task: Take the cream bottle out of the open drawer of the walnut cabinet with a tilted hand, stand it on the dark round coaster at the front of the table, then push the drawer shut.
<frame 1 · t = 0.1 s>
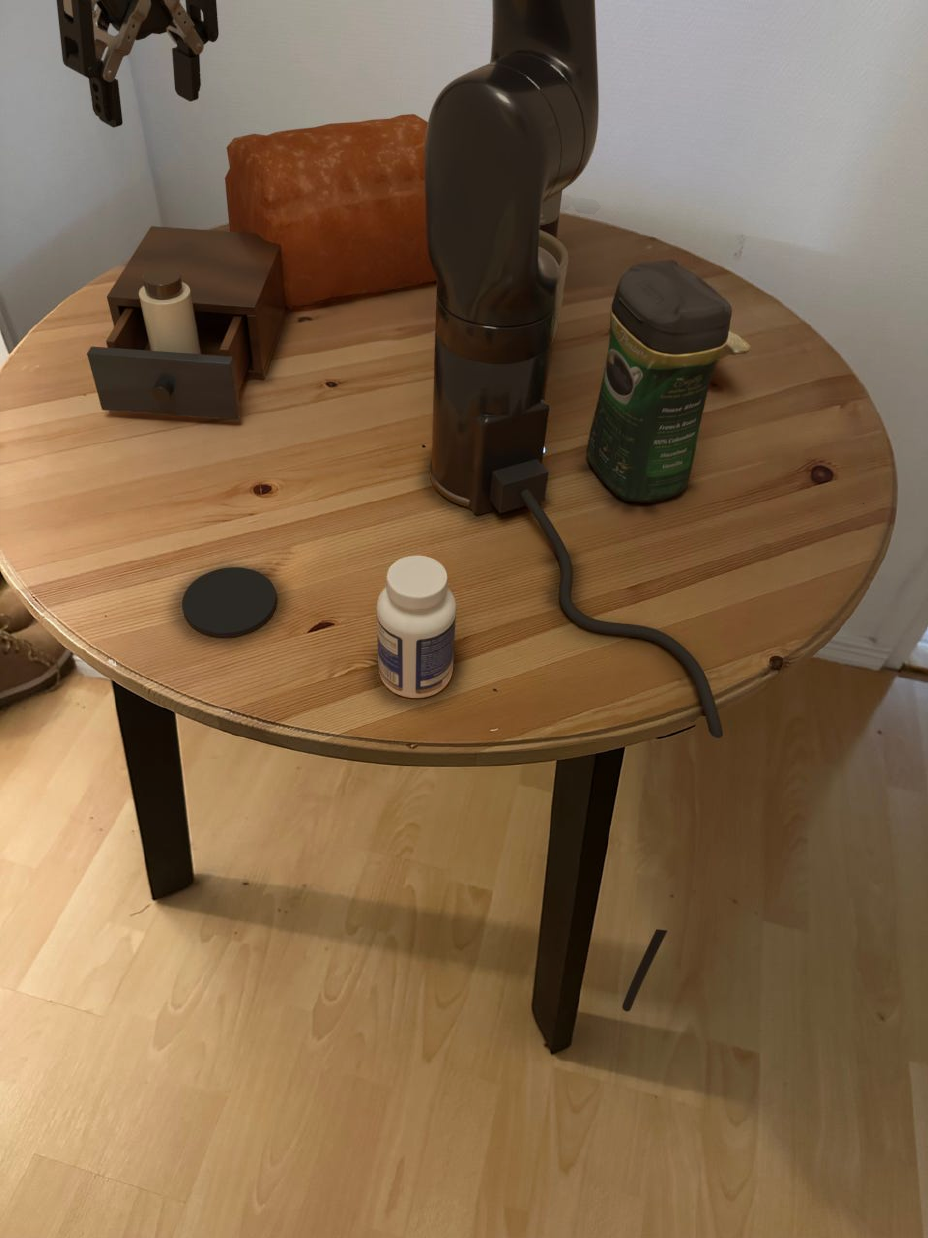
hand: (150, 109, 81), 22 cm above the table, tool pointing down, fingers open, 8 cm apart
cream bottle: (180, 376, 90), point 2 cm above the table, touching drawer
pill bottle: (415, 673, 69), on the table
cheese: (684, 367, 99), on the table
cabinet: (211, 335, 99), on the table
drawer: (182, 350, 89), point 4 cm above the table, slide at 7.0 cm, touching cream bottle
wine bottle: (519, 289, 109), on the table
coaster: (230, 604, 73), on the table
planter: (495, 353, 99), on the table
coffee jar: (634, 474, 86), on the table
bread: (349, 265, 111), on the table, touching cabinet
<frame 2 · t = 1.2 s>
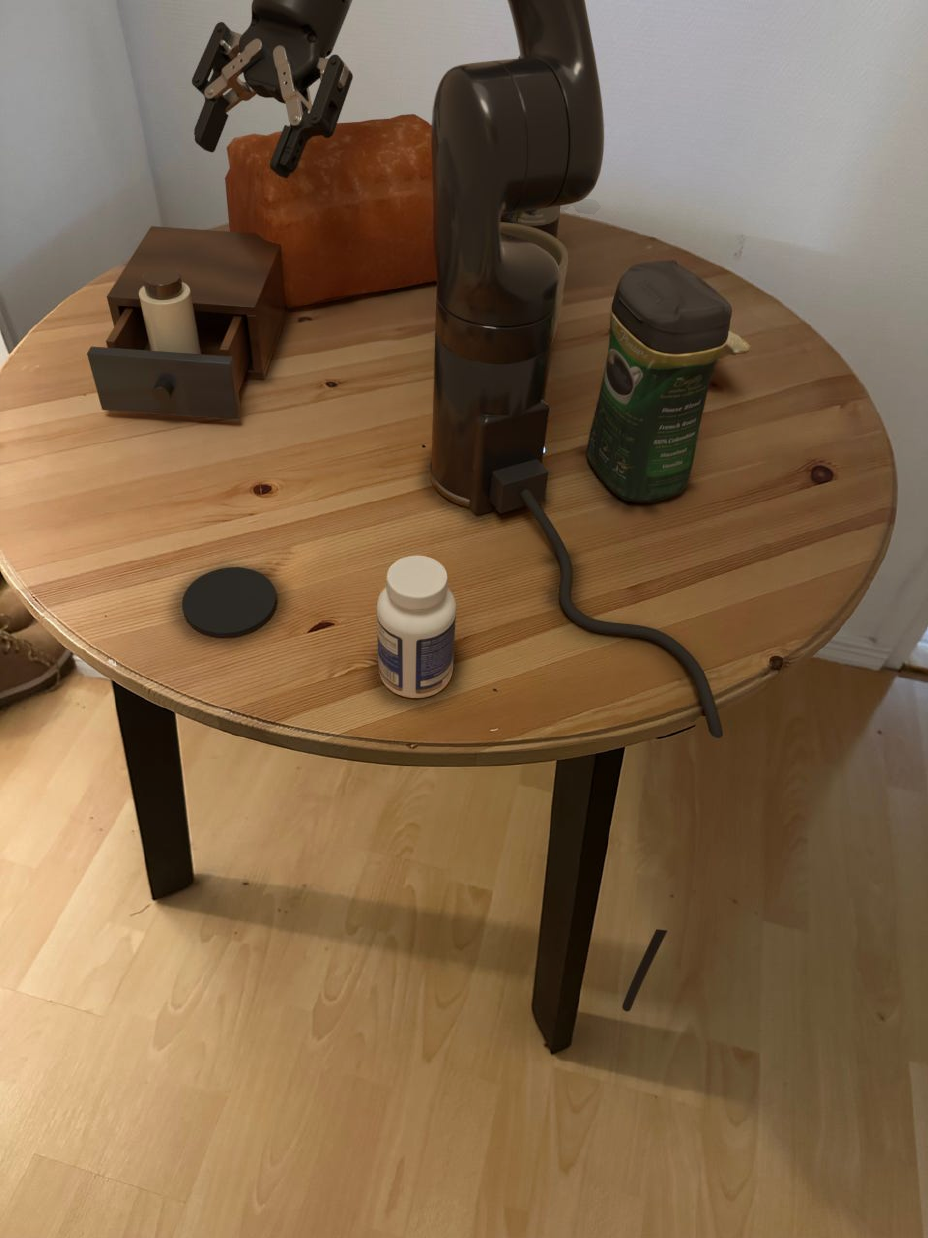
hand: (240, 160, 85), 18 cm above the table, tool tilted 45°, fingers open, 8 cm apart
nothing on the table moved.
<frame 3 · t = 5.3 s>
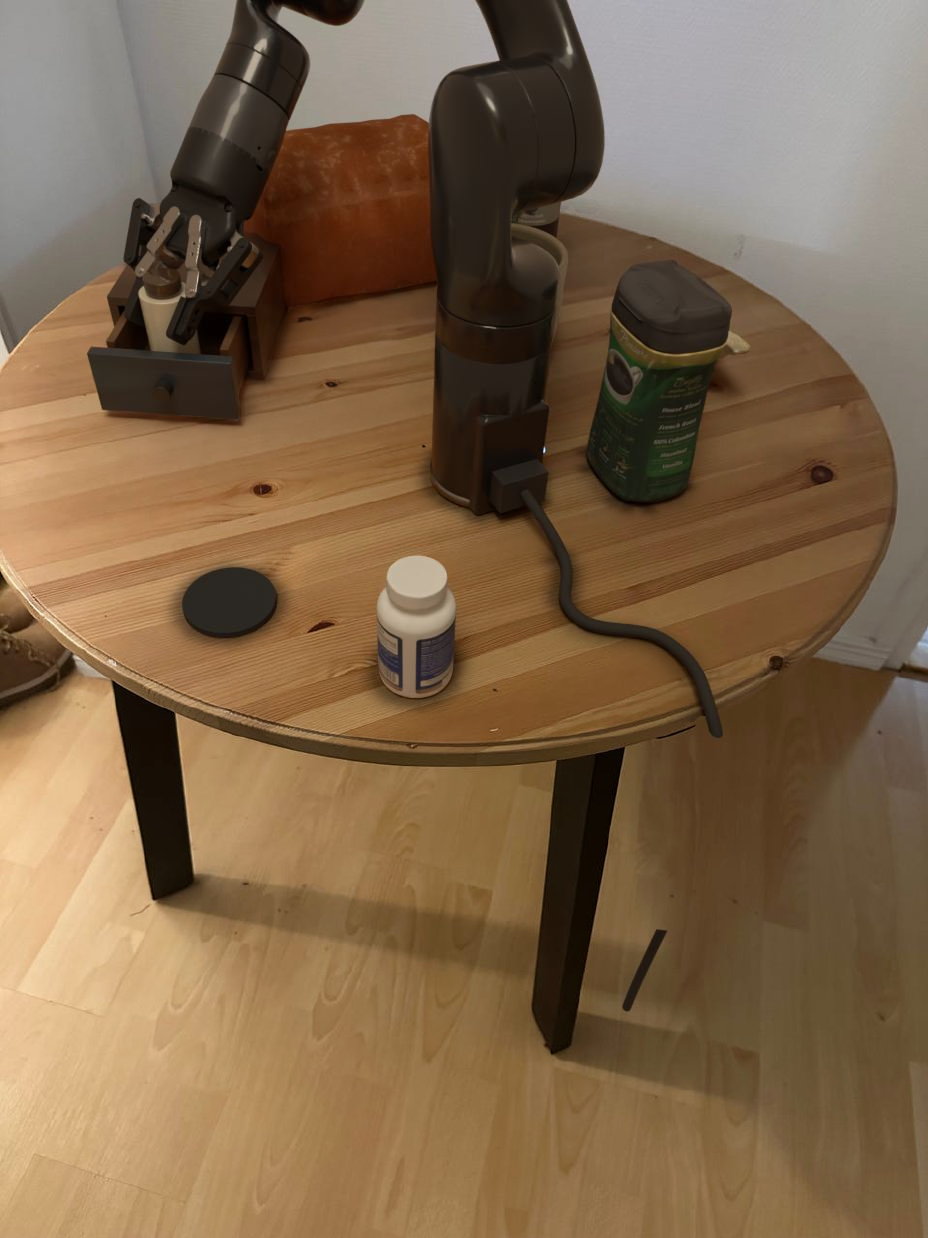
hand: (155, 331, 84), 8 cm above the table, tool tilted 45°, fingers closed on cream bottle, 4 cm apart
cream bottle: (181, 376, 90), point 2 cm above the table, touching drawer, gripper
everything else where it was.
when the fingers open (6 cm above the table, at t = 16.2 s): cream bottle stays where it is, resting on coaster.
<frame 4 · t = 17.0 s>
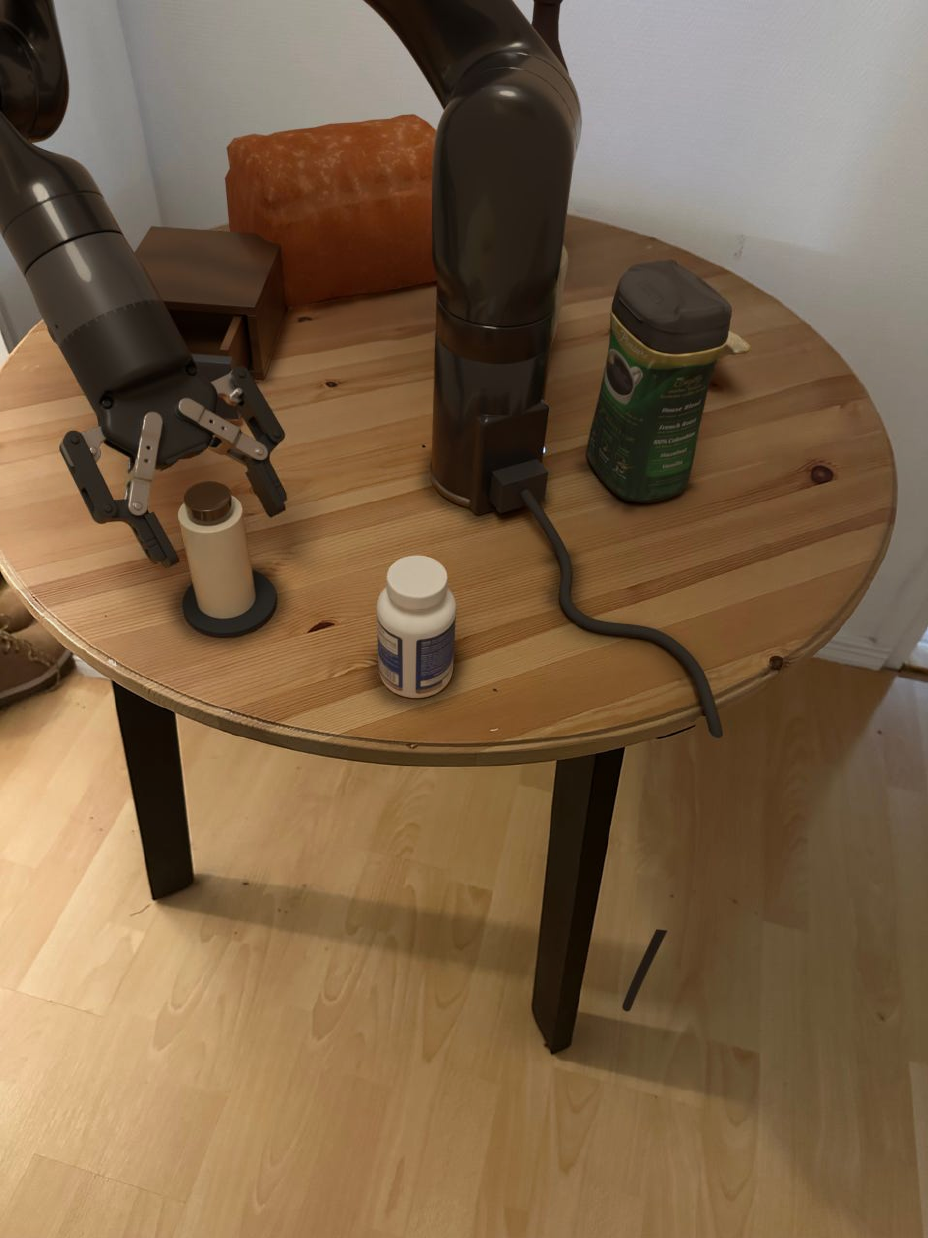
hand: (227, 538, 67), 8 cm above the table, tool tilted 45°, fingers open, 8 cm apart
cream bottle: (226, 598, 72), point 1 cm above the table, touching coaster
drawer: (182, 350, 89), point 4 cm above the table, slide at 7.0 cm
everything else where it was.
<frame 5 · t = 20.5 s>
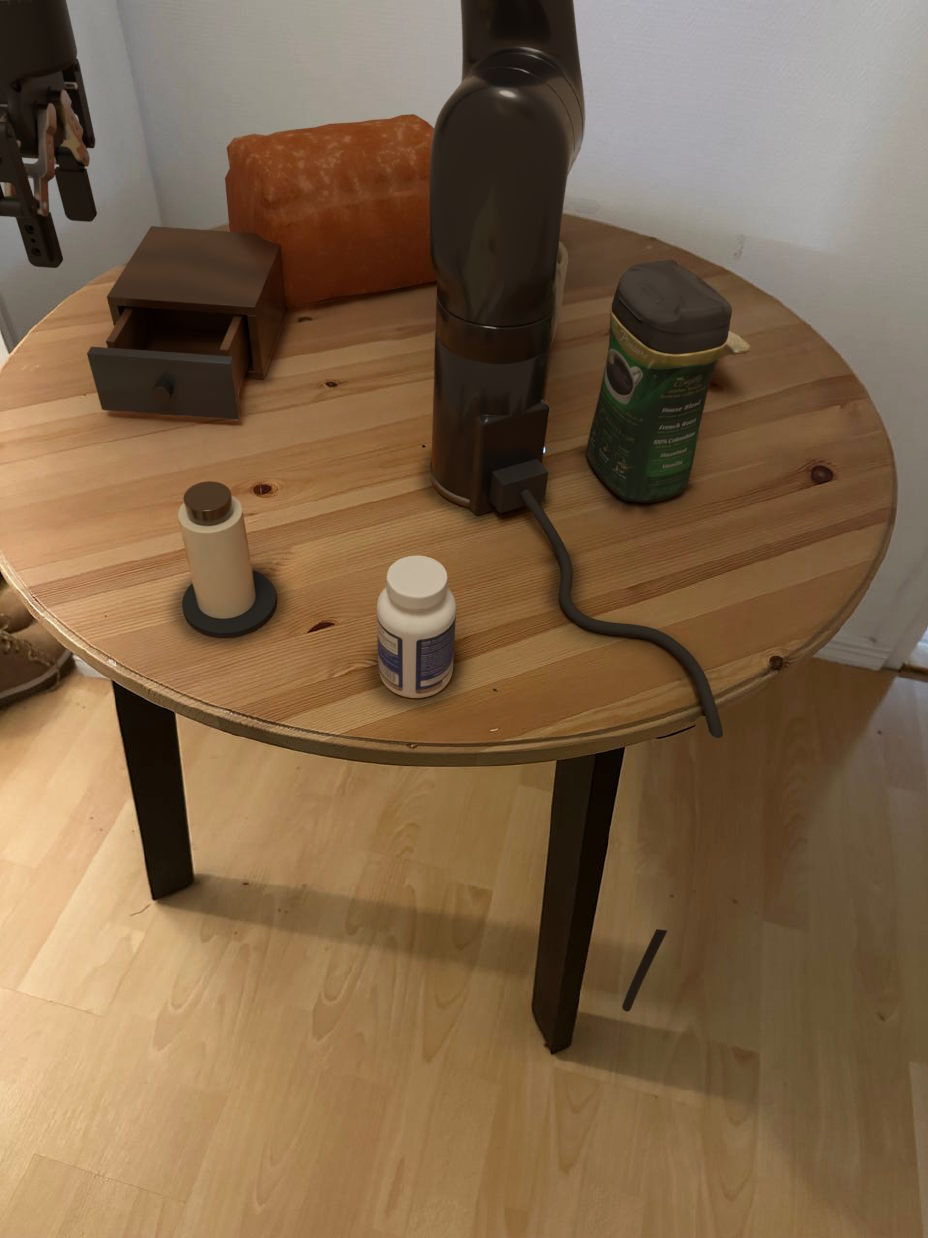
hand: (65, 240, 70), 20 cm above the table, tool pointing down, fingers open, 7 cm apart
nothing on the table moved.
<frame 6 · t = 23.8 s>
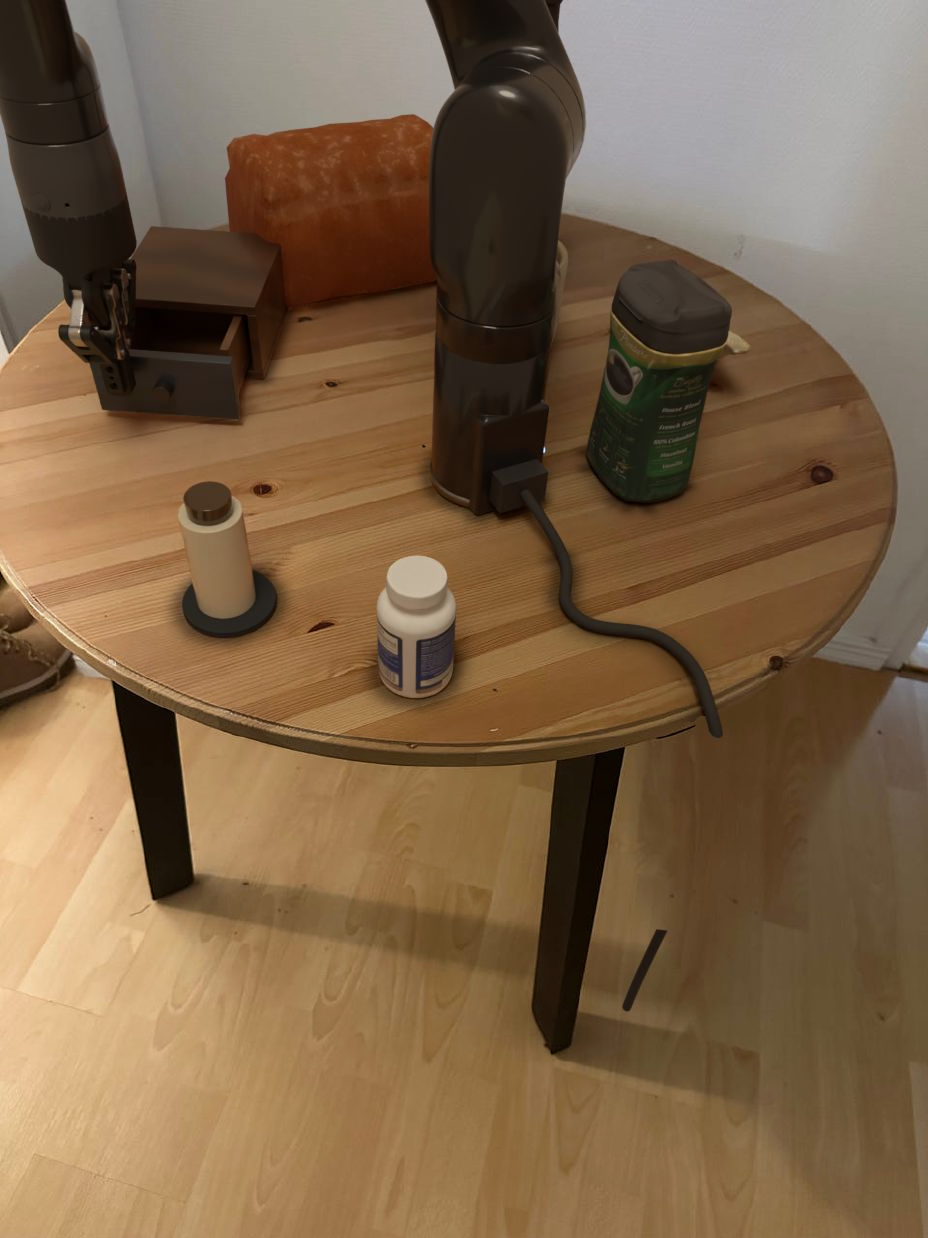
hand: (122, 390, 83), 5 cm above the table, tool pointing down, fingers closed
drawer: (182, 350, 89), point 4 cm above the table, slide at 7.0 cm, touching gripper
everything else where it was.
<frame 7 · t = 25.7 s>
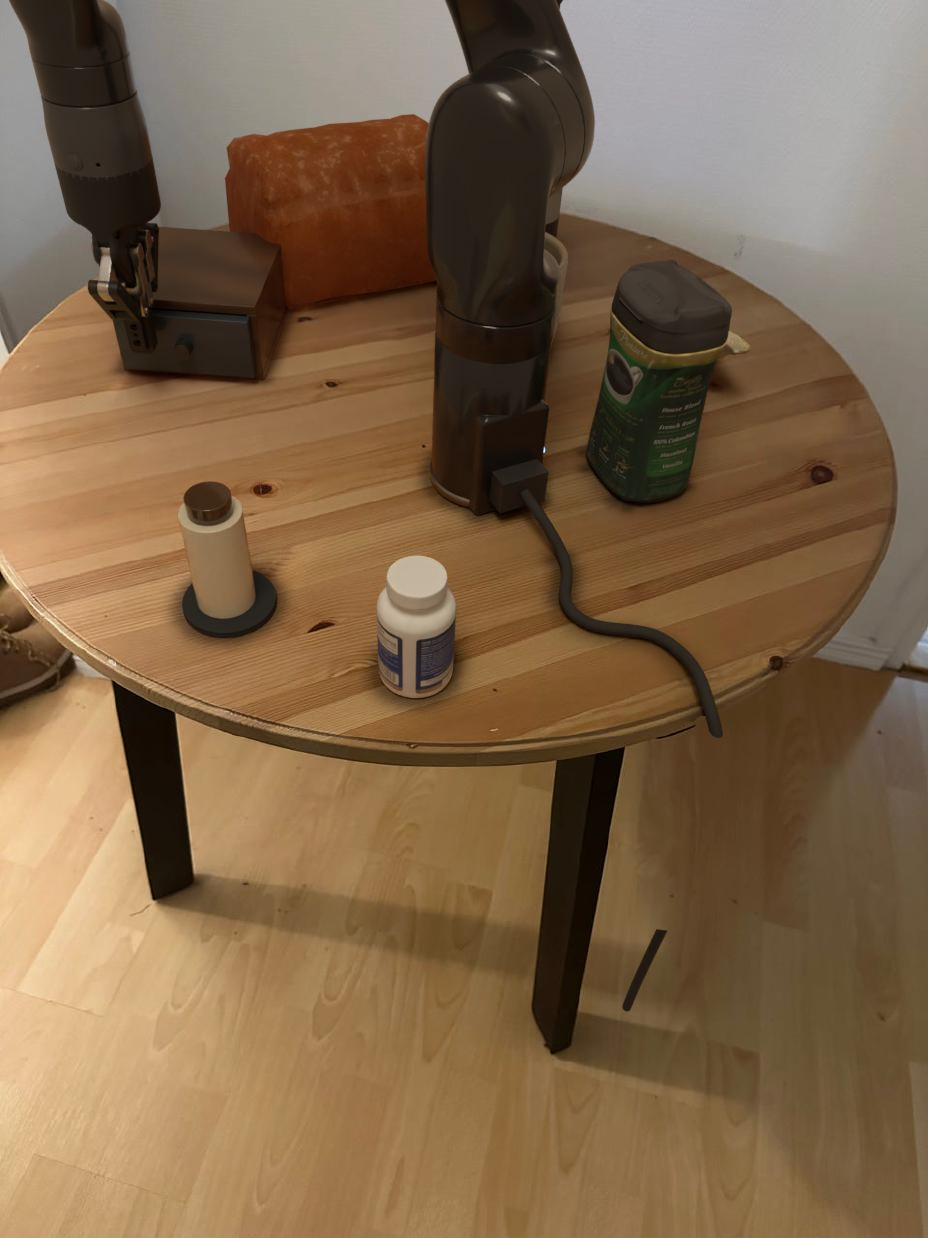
hand: (144, 348, 88), 5 cm above the table, tool pointing down, fingers closed
drawer: (200, 312, 94), point 4 cm above the table, slide at 0.0 cm, touching cabinet, gripper
everything else where it was.
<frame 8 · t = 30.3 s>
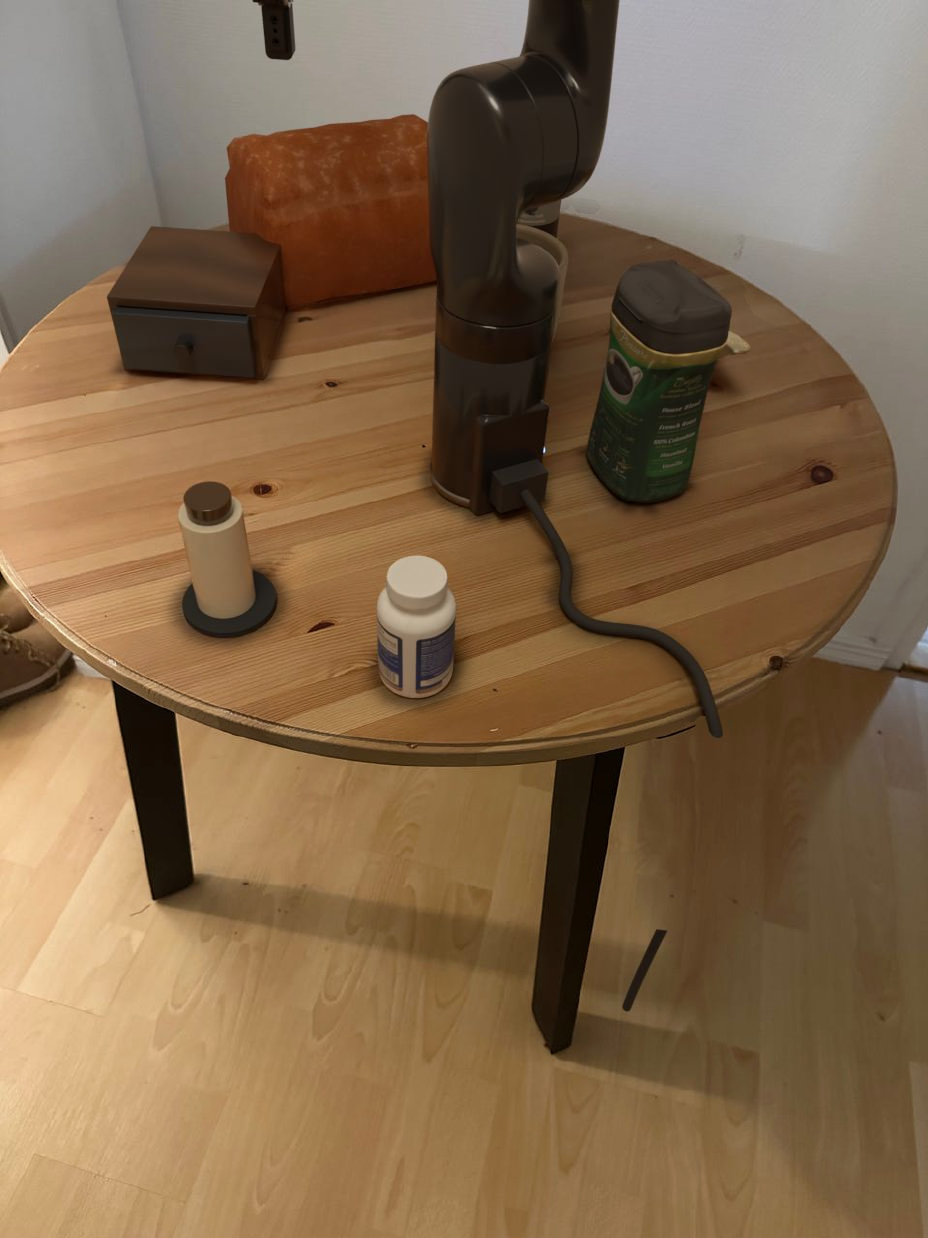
hand: (281, 56, 78), 27 cm above the table, tool pointing down, fingers closed
drawer: (200, 312, 94), point 4 cm above the table, slide at 0.0 cm
everything else where it was.
at the end: cream bottle 0.2 cm off-centre on the coaster, point 0.6 cm above the coaster's base; cream bottle tilted 0°; drawer slide at 0.0 cm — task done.
